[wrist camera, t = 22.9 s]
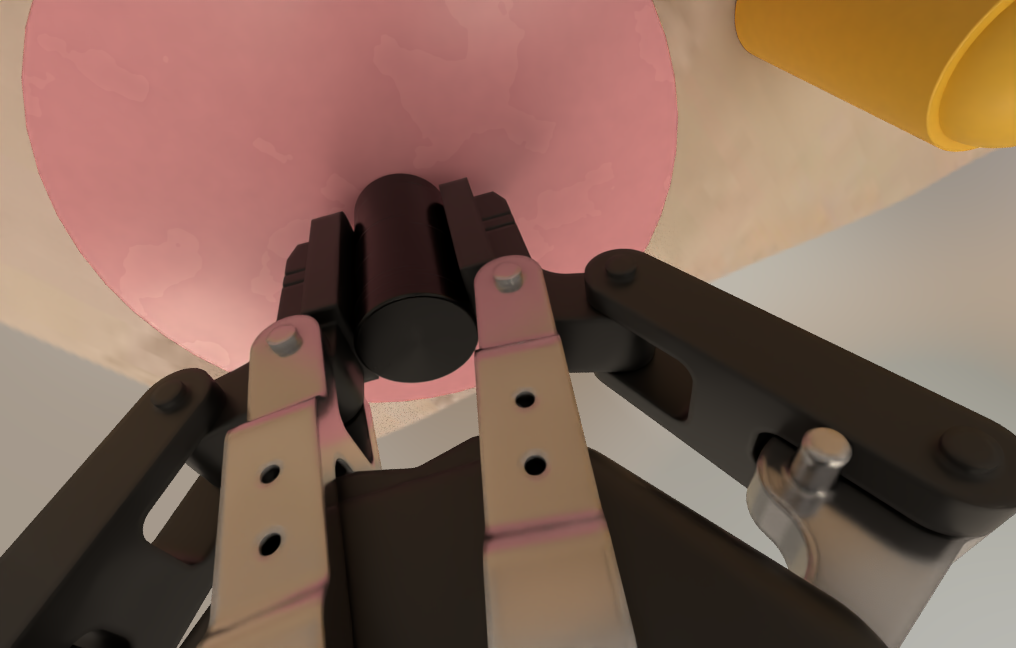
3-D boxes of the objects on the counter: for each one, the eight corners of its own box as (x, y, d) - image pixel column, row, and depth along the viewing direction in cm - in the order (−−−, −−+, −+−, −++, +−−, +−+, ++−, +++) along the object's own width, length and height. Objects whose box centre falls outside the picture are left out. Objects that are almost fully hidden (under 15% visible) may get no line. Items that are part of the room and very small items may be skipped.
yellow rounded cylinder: (757, -82, 18) (1105, -28, 9) (871, -85, 18) (1283, -37, 10) (719, 61, 21) (955, 194, 13) (817, 54, 21) (1100, 175, 13)
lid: (-193, -211, 7) (-902, -298, 3) (731, -198, 10) (1012, -239, 6) (216, 411, 18) (173, 582, 14) (617, 344, 20) (686, 472, 16)
